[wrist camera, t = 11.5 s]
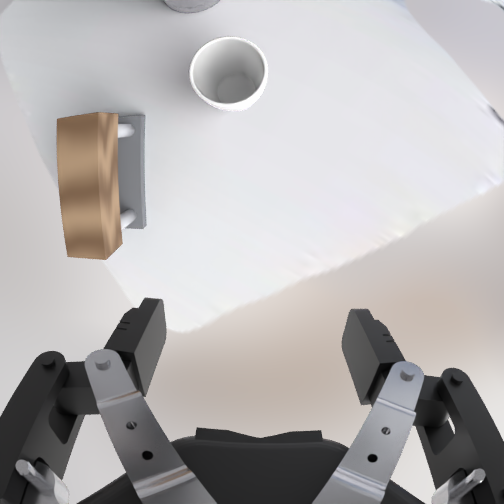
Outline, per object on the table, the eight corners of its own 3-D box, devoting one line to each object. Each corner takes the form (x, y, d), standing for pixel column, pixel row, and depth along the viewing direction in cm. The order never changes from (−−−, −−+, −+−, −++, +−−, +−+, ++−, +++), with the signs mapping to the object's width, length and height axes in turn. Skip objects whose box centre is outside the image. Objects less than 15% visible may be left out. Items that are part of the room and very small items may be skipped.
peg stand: (101, 119, 36) (74, 119, 29) (145, 115, 36) (123, 113, 29) (105, 224, 42) (81, 241, 35) (146, 225, 42) (127, 244, 35)
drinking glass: (200, 93, 35) (171, 73, 21) (237, 59, 33) (229, 21, 20) (236, 127, 37) (227, 124, 23) (273, 93, 35) (285, 70, 21)
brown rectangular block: (79, 118, 29) (56, 118, 25) (118, 113, 29) (98, 112, 25) (86, 241, 35) (67, 256, 31) (122, 243, 35) (106, 259, 31)
